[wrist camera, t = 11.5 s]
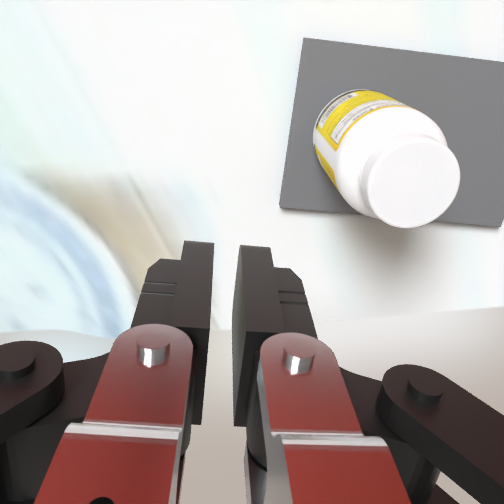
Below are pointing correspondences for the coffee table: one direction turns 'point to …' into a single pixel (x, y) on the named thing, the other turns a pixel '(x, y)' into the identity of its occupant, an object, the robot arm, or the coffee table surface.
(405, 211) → the supplement bottle
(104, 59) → the coffee table surface
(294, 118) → the rubber mat
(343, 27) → the coffee table surface
